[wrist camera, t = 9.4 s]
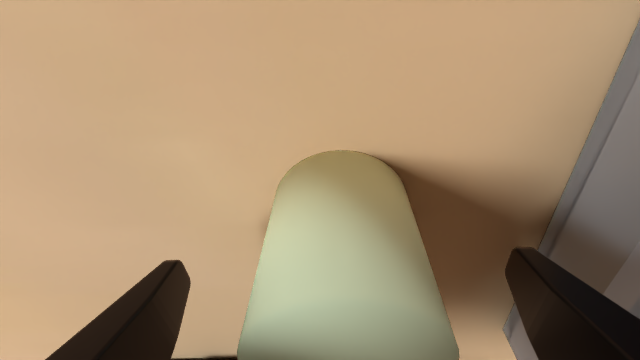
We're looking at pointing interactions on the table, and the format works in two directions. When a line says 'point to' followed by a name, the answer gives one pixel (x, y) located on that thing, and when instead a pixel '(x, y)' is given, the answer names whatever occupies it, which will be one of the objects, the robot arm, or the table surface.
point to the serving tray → (600, 204)
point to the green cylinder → (344, 270)
